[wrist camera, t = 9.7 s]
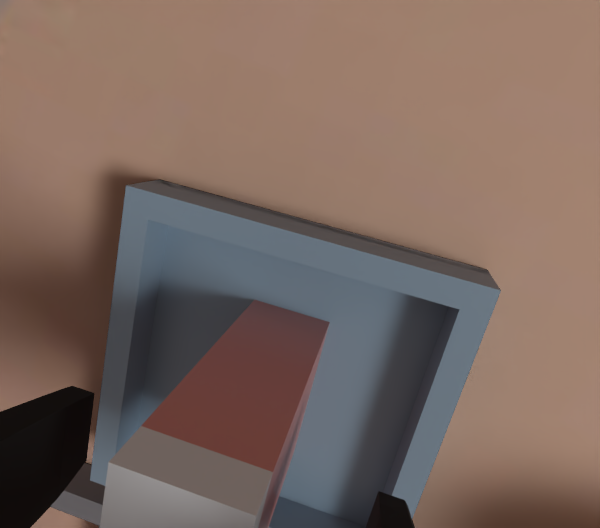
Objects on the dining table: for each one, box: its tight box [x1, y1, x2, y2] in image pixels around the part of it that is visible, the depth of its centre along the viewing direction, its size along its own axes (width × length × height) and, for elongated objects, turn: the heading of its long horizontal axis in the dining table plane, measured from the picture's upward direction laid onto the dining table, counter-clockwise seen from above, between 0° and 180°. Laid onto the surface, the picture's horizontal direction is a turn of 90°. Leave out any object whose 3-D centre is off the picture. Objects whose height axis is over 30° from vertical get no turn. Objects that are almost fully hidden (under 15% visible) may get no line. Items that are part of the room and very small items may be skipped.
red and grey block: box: [100, 300, 330, 528], centre depth 12 cm, size 2×5×8 cm, turn 166°
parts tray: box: [90, 180, 501, 528], centre depth 15 cm, size 11×11×2 cm
